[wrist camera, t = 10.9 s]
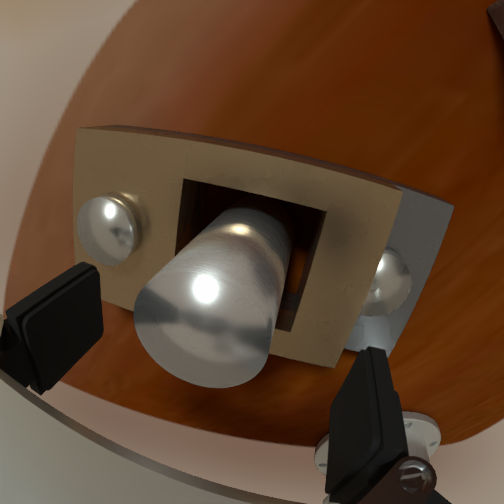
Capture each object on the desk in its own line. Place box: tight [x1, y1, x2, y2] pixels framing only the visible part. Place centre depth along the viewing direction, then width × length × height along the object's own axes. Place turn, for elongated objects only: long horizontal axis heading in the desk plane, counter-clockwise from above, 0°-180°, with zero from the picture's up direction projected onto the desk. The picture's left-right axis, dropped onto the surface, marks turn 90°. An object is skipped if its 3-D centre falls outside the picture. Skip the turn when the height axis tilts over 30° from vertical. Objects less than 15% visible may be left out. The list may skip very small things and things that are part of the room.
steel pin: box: [133, 196, 294, 388], centre depth 14 cm, size 4×4×10 cm
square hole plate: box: [73, 125, 454, 368], centre depth 16 cm, size 20×10×5 cm, turn 79°
